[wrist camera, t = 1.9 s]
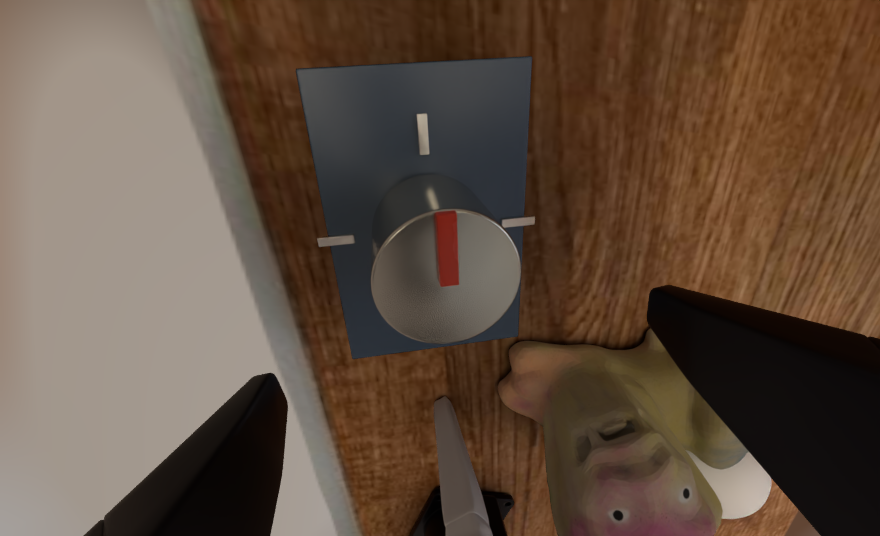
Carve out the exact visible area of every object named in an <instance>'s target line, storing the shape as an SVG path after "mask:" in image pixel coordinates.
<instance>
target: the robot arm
mask: <svg viewBox="0 0 880 536" xmlns="http://www.w3.org/2000/svg"><path fill="white" fill-rule="evenodd" d="M647 321H648V324H649V326H650V328H651V329H652V331H653V332H654V334H655V335H656V336H657V338H658V339H659V341H660V342H661V344H662V345H663V346H664V348H665V349H666V351H667V352H668V354H669V355H670V357H671V358H672V359H673V361H674V362H675V364H676V365H677V367H678V368H679V369H680V371H681V372H682V373H683V375H684V376H685V377H686V379H687V380H688V381H689V382H690V384H691V385H692V386H693V387H694V388H695V390H696V391H697V392H698V393H699V394H700V395H701V397H702V398H703V399H704V400H705V401H706V402H707V404H708V405H709V406H710V407H711V408H712V409H713V411H714V412H715V413H716V414H717V415H718V416H719V418H720V419H721V420H722V421H723V422H724V423H725V425H726V426H727V427H728V428H729V429H730V430H731V432H732V433H733V434H734V435H735V436H736V437H737V439H738V440H739V441H740V442H741V443H742V444H743V446H744V447H745V448H746V449H747V450H748V451H749V453H750V454H751V455H752V456H753V457H754V458H755V460H756V461H757V462H758V463H759V464H760V465H761V467H762V468H763V469H764V470H765V471H766V472H767V474H768V475H769V476H770V477H771V478H772V479H773V481H774V482H775V483H776V484H777V485H778V486H779V487H780V489H781V490H782V491H783V492H784V493H785V494H786V496H787V497H788V498H789V499H790V500H791V501H792V503H793V504H794V505H795V506H796V507H797V508H798V510H799V511H800V512H801V513H802V514H803V515H804V516H805V518H806V519H807V520H808V521H809V522H810V524H811V525H812V526H813V527H814V528H815V529H816V531H817V532H818V533H819V534H820V535H821V536H880V339H878V338H874V337H868V338H867V337H866V336H865V335H862V334H858V333H854V332H850V331H847V330H843V329H839V328H835V327H831V326H827V325H823V324H819V323H815V322H812V321H808V320H804V319H800V318H796V317H792V316H788V315H784V314H781V313H777V312H773V311H769V310H765V309H761V308H757V307H753V306H749V305H746V304H742V303H738V302H734V301H730V300H726V299H722V298H718V297H715V296H711V295H707V294H703V293H699V292H695V291H691V290H687V289H683V288H680V287H676V286H672V285H666V286H661V287H657V288H653V289H652V290H651V291H650V294H649V302H648V311H647ZM287 411H288V405H287V400H286V397H285V395H284V393H283V390H282V389H281V386H280V384H279V382H278V380H277V378H276V376H275V375H274V374H273V373H267V374H262V375H257V376H254V377H253V378H251V379H250V380H249V381H248V382H247V383H246V384H245V385H244V386H243V387H242V388H241V389H240V390H238V391H237V392H236V393H235V394H234V395H233V396H232V397H231V398H230V399H229V400H228V401H227V402H226V403H225V404H224V405H223V406H221V407H220V408H219V409H218V410H217V411H216V412H215V413H214V414H213V415H212V416H211V417H210V418H209V419H208V420H207V421H205V423H203V424H202V425H201V426H200V427H199V428H198V429H197V430H196V431H195V432H194V433H193V434H192V435H191V436H190V437H189V438H188V439H186V440H185V441H184V442H183V443H182V444H181V445H180V446H179V447H178V448H177V449H176V450H175V451H174V452H173V453H171V454H170V455H169V456H168V457H167V458H166V459H165V460H164V461H163V462H162V463H161V464H160V465H159V466H158V467H156V468H155V469H154V470H153V471H152V472H151V473H150V474H149V475H148V476H147V477H146V478H145V479H144V480H143V481H142V482H141V483H139V484H138V485H137V486H136V487H135V488H134V489H133V490H132V491H131V492H130V493H129V494H128V495H127V496H126V497H124V498H123V499H122V500H121V501H120V502H119V503H118V504H117V505H116V506H115V507H114V508H113V509H112V510H111V511H110V512H109V513H107V514H106V515H105V517H104V520H100V521H99V522H98V523H97V524H96V525H95V526H94V527H92V528H91V529H90V530H89V531H88V532H87V533H86V534H85V535H84V536H270V534H271V529H272V524H273V518H274V514H275V509H276V503H277V498H278V493H279V488H280V483H281V477H282V470H283V459H284V448H285V436H286V424H287ZM481 493H482V497H483V500H484V504H485V508H486V512H487V515H488V519H489V526H490V529H491V531H492V534H493V536H507V532H506V529H505V525H504V522H503V520H504V518H505V517H506V515H507V514H508V512H509V511H510V509H511V508H512V506H513V505H514V501H513V498H512V496H511V495H505V494H496V493H486V492H481ZM409 536H446V527H445V524H444V520H443V512H442V503H441V491H440V488H437V489H435V490H434V491H433V493H432V494H431V496H430V498H429V500H428V502H427V504H426V506H425V507H424V509H423V511H422V513H421V515H420V517H419V519H418V520H417V522H416V524H415V526H414V528H413V530H412V532H411V533H410V535H409Z"/></svg>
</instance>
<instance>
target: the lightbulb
mask: <svg viewBox="0 0 880 536" xmlns="http://www.w3.org/2000/svg"><path fill="white" fill-rule="evenodd" d="M686 451H687V453H688V454H689V456H690V457H691V458H692V460H693V461H694V463H695V464H696V466H697V467H698V469H699V470H700V472H701V473H702V474H703V476H704V477H705V479H706V480H707V482H708V483H709V485H710V486H711V487H712V489H713V490H714V492H715V493H716V495H717V497H718V499H719V501H720V503H721V506H722V510H723V513H722V518H723V519H737V518H742V517H746V516H749V515H751V514H753V513H755V512H756V511H758V510H759V509H760V508H761V507H762V506H763V504H764V503H765V502H766V500H767V498H768V496H769V493H770V490H771V477H770V476H769V475H768V474H767V472H766V471H765V470H764V469H763V468H762V467H761V465H760V464H759V463H758V462H757V461H756V460H755V458H754V457H753V456H752V455H751V454H750V453H749V452H748V453H746V455H745V457H744V458H743V459H742V460H741V461H740V462H739V463H737V464H735V465H734V466H732V467H730V468H726V469H722V470H721V469H715V468H712V467H710V466H708V465H707V464H705V463H704V462H702V461H701V460H700V459H699V458H697V457H696V456H695V455H694V454H693V453H692V452H690V451H688V450H686Z"/></svg>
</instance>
